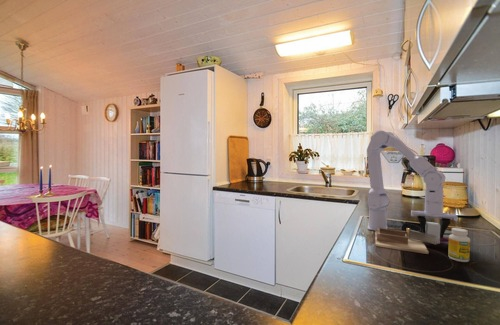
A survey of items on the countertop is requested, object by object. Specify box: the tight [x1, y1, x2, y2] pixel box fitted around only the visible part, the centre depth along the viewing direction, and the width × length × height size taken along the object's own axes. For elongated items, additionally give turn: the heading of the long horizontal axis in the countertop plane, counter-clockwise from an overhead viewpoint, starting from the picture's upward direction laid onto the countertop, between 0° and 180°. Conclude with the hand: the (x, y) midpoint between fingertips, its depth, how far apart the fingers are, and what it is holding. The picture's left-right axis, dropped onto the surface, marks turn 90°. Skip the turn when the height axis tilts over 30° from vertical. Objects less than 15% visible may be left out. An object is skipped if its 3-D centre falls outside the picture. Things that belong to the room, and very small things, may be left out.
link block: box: [426, 221, 441, 245], centre depth 98 cm, size 4×4×7 cm
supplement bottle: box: [447, 227, 471, 263], centre depth 81 cm, size 5×5×10 cm
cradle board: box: [374, 228, 429, 255], centre depth 96 cm, size 18×16×3 cm
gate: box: [405, 227, 438, 246], centre depth 95 cm, size 10×1×3 cm, turn 34°
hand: (432, 236), depth 98 cm, fingers open, 5 cm apart
